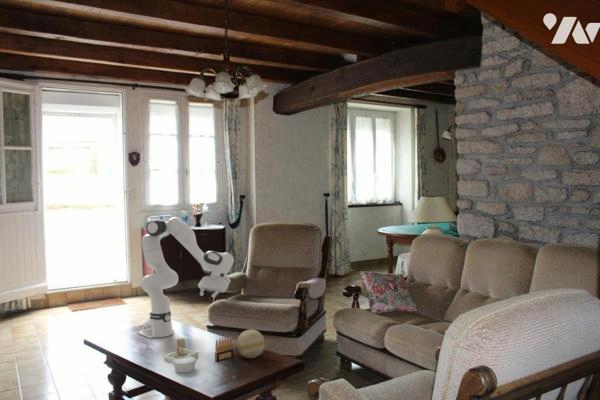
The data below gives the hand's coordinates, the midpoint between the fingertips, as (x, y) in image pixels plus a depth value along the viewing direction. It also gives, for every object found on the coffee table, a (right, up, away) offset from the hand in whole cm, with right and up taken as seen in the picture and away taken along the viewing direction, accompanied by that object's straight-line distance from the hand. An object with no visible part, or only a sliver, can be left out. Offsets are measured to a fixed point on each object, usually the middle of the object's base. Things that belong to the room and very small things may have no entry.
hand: (206, 296), depth 302 cm
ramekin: (-3, -29, -43) cm, 52 cm away
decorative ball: (+29, -28, -27) cm, 48 cm away
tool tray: (-9, -29, -26) cm, 40 cm away
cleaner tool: (-9, -28, -26) cm, 40 cm away
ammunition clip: (+15, -29, -30) cm, 44 cm away
